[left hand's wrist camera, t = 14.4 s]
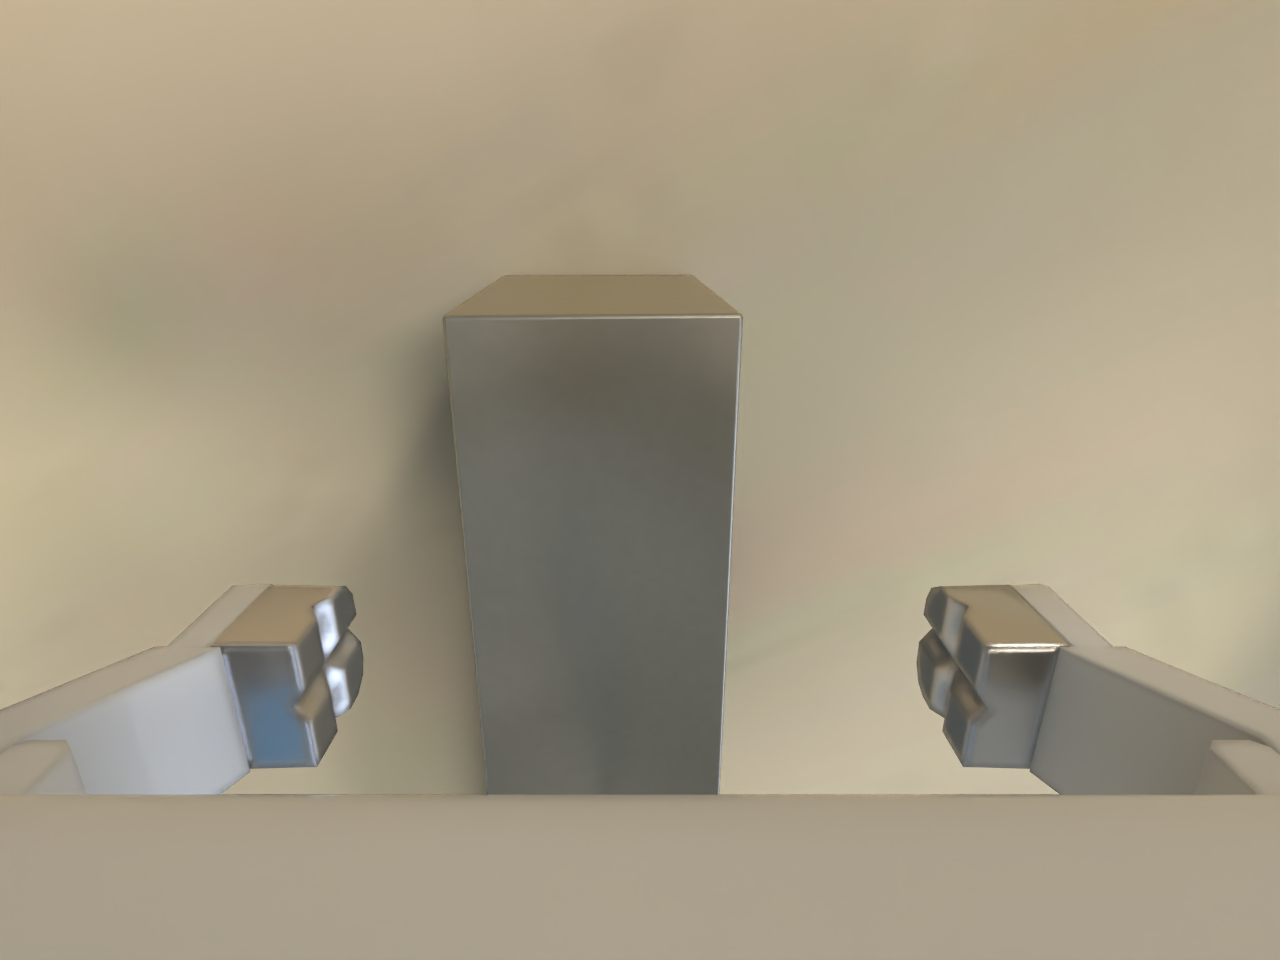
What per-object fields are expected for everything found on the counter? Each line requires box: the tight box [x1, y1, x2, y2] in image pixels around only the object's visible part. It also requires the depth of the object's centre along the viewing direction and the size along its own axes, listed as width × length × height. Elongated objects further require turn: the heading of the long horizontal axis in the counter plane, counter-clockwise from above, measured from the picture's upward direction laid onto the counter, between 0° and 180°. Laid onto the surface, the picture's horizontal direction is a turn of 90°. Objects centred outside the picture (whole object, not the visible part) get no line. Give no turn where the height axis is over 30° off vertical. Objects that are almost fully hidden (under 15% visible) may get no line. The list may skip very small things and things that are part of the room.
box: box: [443, 275, 743, 794], centre depth 23 cm, size 25×6×9 cm, turn 0°
